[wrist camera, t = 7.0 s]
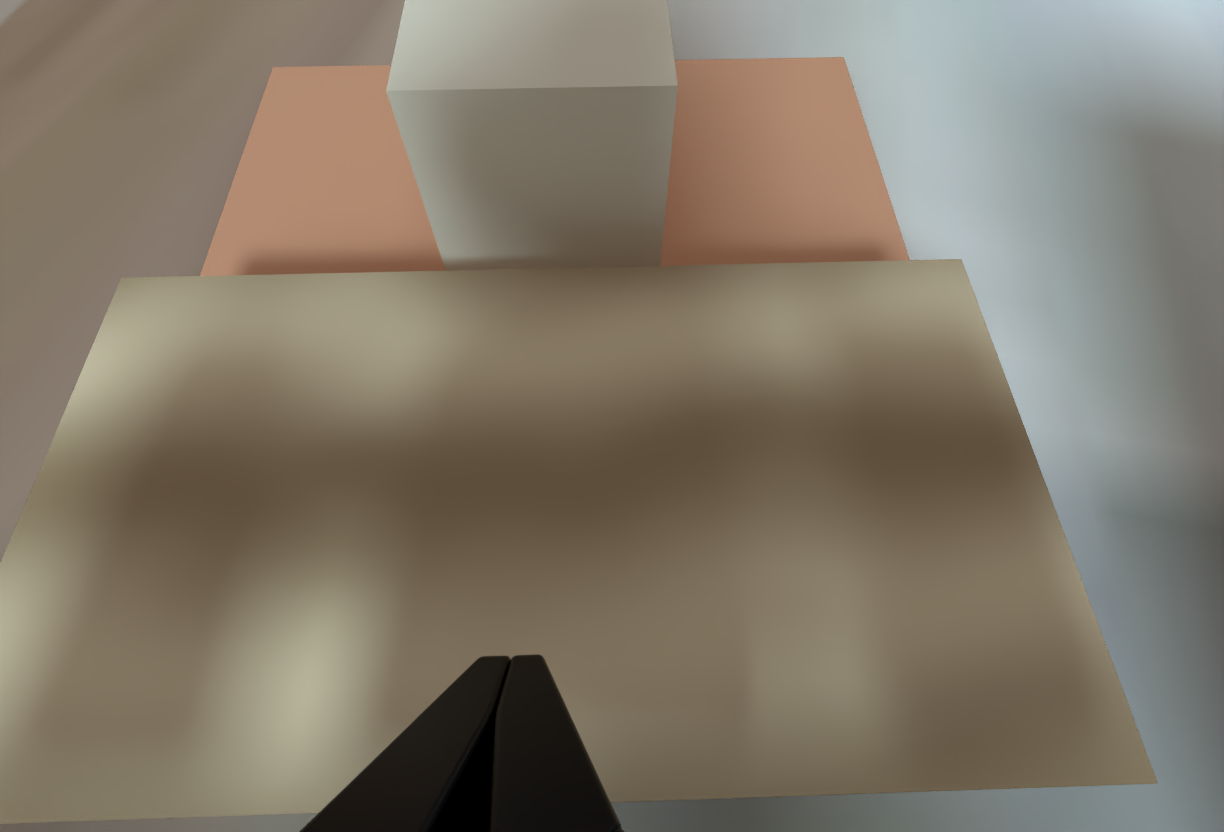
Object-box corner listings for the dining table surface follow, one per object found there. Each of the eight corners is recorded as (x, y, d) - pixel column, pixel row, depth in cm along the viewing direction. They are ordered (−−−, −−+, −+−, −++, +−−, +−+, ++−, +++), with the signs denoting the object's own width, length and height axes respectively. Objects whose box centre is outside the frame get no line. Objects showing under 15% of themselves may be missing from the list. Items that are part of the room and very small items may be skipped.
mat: (926, 337, 19) (932, 330, 19) (182, 355, 19) (174, 347, 19) (840, 66, 26) (843, 57, 25) (277, 77, 25) (273, 67, 25)
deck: (1020, 779, 14) (1157, 783, 10) (74, 813, 14) (-112, 827, 10) (897, 352, 19) (961, 258, 16) (212, 369, 19) (121, 277, 15)
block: (677, 85, 13) (654, -107, 17) (385, 91, 13) (427, -103, 17) (656, 300, 20) (643, 123, 23) (456, 304, 20) (475, 126, 23)
